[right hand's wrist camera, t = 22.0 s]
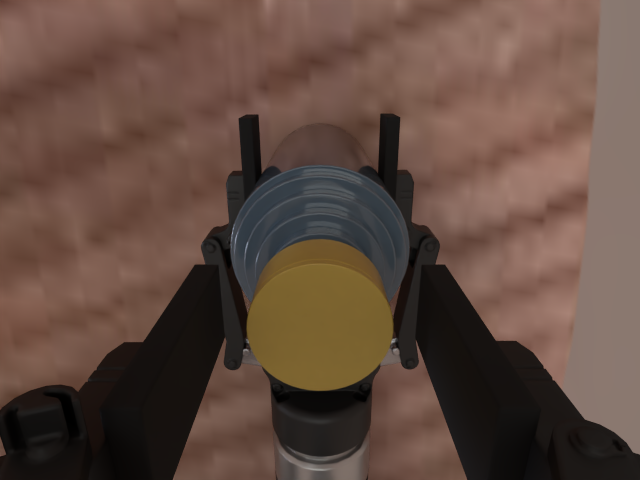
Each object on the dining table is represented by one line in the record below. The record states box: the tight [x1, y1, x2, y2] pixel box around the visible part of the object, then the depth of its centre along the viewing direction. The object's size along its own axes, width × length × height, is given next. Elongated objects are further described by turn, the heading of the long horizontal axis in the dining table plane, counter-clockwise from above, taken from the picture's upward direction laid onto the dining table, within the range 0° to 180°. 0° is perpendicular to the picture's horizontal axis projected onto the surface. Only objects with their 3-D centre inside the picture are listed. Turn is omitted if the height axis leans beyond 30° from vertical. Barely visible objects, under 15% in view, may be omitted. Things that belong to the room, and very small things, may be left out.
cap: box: [246, 239, 394, 391], centre depth 14 cm, size 4×4×2 cm
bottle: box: [231, 124, 409, 302], centre depth 24 cm, size 8×8×22 cm
